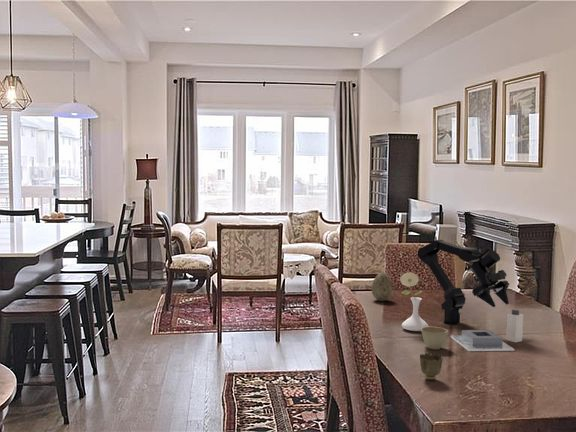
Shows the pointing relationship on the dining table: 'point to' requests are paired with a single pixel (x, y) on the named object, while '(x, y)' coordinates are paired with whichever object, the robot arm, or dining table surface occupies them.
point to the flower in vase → (414, 321)
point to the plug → (514, 326)
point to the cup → (431, 365)
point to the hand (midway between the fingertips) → (501, 305)
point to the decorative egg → (382, 287)
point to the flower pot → (434, 337)
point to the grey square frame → (481, 341)
